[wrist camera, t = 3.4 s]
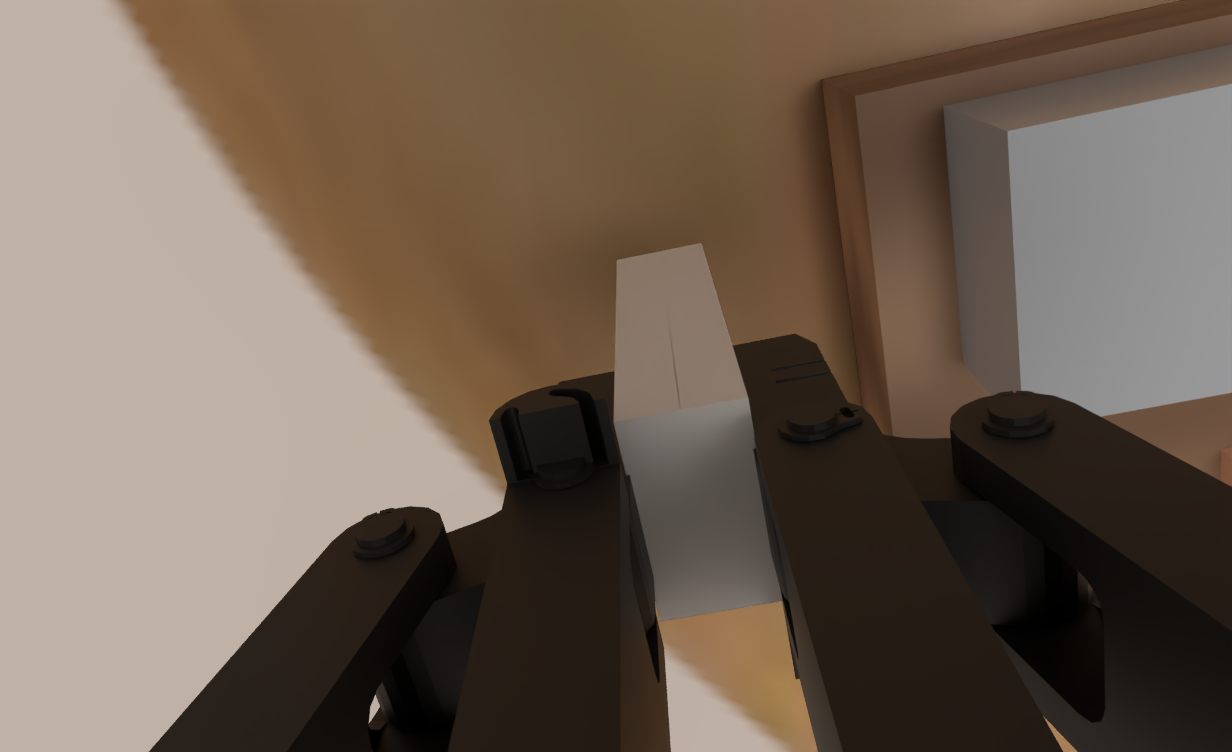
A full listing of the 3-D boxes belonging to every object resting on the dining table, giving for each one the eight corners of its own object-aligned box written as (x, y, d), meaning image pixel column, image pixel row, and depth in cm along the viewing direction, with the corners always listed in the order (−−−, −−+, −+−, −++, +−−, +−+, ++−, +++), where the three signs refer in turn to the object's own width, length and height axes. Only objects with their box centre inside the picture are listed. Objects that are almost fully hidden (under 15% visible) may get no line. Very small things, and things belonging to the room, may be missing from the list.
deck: (821, 79, 19) (854, 96, 16) (1603, -92, 18) (1781, -106, 15) (889, 626, 25) (923, 708, 22) (1498, 524, 23) (1616, 598, 20)
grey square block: (943, 106, 17) (1007, 131, 14) (1236, 43, 16) (1363, 55, 13) (963, 363, 18) (1023, 431, 16) (1226, 313, 18) (1336, 373, 15)
